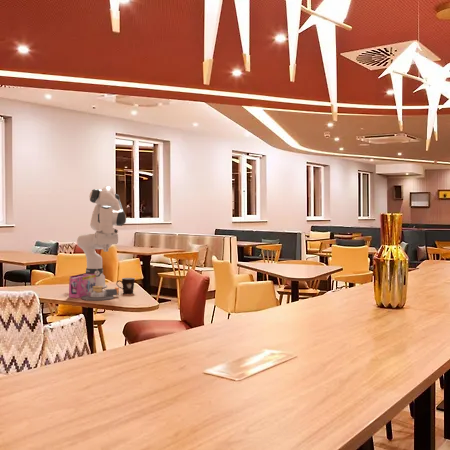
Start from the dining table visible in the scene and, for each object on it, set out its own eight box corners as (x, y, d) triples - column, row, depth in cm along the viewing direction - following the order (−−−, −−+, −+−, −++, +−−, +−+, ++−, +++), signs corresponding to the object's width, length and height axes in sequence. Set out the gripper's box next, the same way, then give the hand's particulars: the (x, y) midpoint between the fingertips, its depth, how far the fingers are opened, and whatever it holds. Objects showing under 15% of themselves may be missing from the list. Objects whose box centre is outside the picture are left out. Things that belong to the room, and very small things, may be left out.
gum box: (78, 298, 359) (78, 277, 359) (67, 297, 361) (67, 276, 360) (96, 293, 382) (96, 273, 382) (85, 292, 384) (85, 272, 384)
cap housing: (77, 297, 364) (77, 285, 364) (108, 294, 375) (108, 283, 374) (86, 301, 347) (86, 289, 347) (118, 299, 357) (118, 287, 357)
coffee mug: (136, 292, 388) (136, 277, 387) (132, 294, 379) (132, 279, 379) (119, 292, 389) (119, 277, 389) (115, 293, 380) (115, 279, 380)
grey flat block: (92, 297, 353) (92, 290, 353) (86, 295, 362) (86, 288, 362) (121, 295, 364) (121, 288, 364) (115, 293, 373) (115, 286, 373)
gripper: (98, 231, 360) (98, 252, 360) (119, 230, 378) (119, 250, 378) (91, 230, 363) (91, 252, 363) (112, 230, 381) (112, 250, 381)
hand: (105, 251), depth 371 cm, fingers closed
